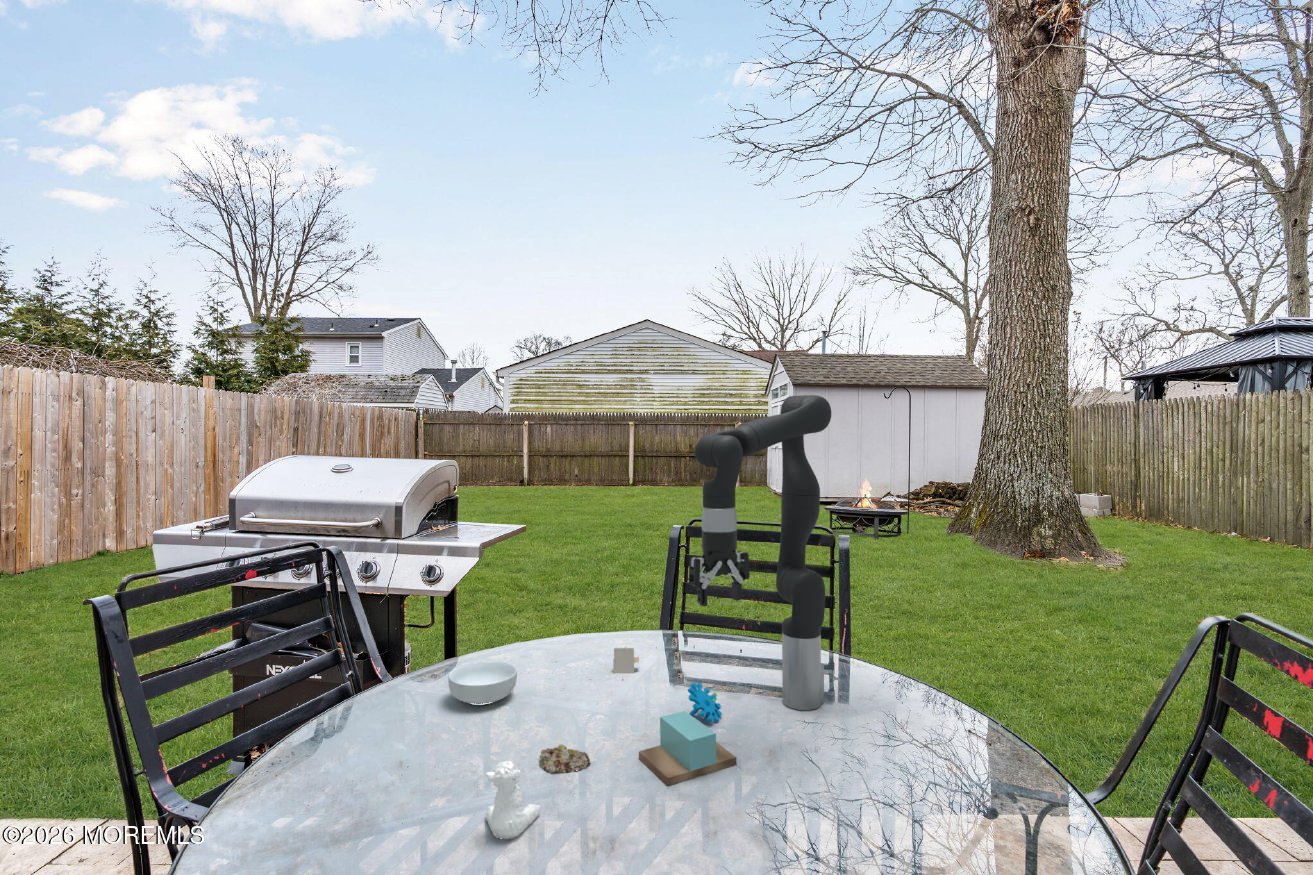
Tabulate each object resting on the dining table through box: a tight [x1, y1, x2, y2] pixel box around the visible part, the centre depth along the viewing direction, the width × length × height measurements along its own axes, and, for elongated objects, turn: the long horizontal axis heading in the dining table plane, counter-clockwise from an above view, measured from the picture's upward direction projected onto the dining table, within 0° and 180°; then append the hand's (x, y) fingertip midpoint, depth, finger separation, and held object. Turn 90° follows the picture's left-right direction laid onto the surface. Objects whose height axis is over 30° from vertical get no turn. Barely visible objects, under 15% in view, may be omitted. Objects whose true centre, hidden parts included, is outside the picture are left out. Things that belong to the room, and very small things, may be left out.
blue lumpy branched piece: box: [687, 682, 723, 724], centre depth 157 cm, size 11×6×10 cm
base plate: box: [638, 741, 738, 787], centre depth 137 cm, size 16×12×4 cm
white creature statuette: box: [485, 760, 542, 840], centre depth 115 cm, size 10×9×12 cm
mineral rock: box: [539, 744, 592, 774], centre depth 136 cm, size 11×4×8 cm
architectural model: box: [612, 645, 640, 674], centre depth 186 cm, size 3×7×7 cm, turn 88°
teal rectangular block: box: [659, 710, 717, 771], centre depth 136 cm, size 6×12×6 cm, turn 29°
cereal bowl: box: [448, 660, 518, 704], centre depth 168 cm, size 17×17×7 cm
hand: (719, 602), depth 145 cm, fingers open, 8 cm apart
